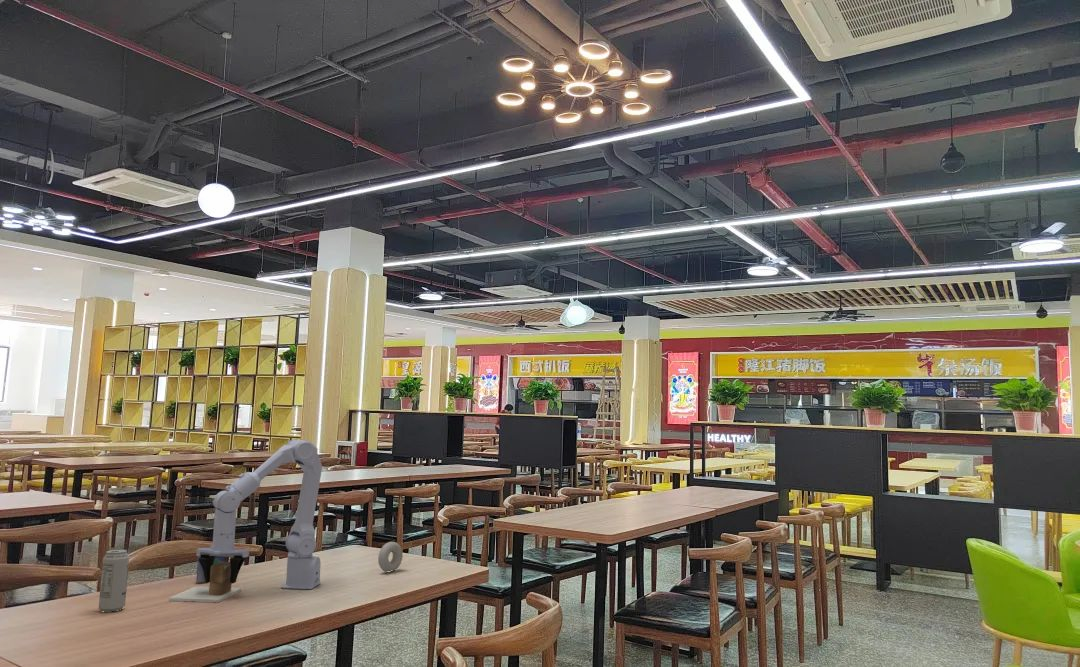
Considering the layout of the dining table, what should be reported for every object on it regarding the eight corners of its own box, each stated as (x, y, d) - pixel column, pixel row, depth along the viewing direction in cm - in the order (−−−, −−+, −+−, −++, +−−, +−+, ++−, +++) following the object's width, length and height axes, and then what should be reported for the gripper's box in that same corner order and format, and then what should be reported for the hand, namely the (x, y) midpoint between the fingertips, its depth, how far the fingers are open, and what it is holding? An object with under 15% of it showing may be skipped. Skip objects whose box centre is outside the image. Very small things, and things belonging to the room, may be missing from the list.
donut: (396, 569, 248) (398, 539, 249) (404, 570, 246) (405, 540, 248) (375, 574, 240) (376, 543, 241) (382, 575, 238) (383, 544, 239)
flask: (198, 584, 220) (201, 548, 222) (193, 583, 222) (195, 547, 223) (226, 579, 228) (228, 544, 229) (221, 578, 230) (223, 543, 231)
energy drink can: (127, 610, 190) (132, 551, 191) (101, 614, 185) (107, 554, 187) (121, 606, 194) (126, 548, 196) (95, 609, 190) (100, 550, 192)
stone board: (241, 590, 213) (241, 587, 213) (218, 602, 199) (218, 599, 200) (194, 589, 214) (195, 586, 214) (168, 600, 200) (168, 597, 200)
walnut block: (230, 590, 210) (232, 562, 210) (220, 595, 204) (222, 566, 205) (219, 590, 210) (221, 561, 211) (208, 595, 204) (210, 565, 205)
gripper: (192, 534, 205) (188, 584, 203) (242, 536, 204) (239, 586, 203) (204, 531, 212) (201, 579, 210) (253, 532, 211) (250, 580, 210)
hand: (220, 582), depth 207 cm, fingers open, 7 cm apart
